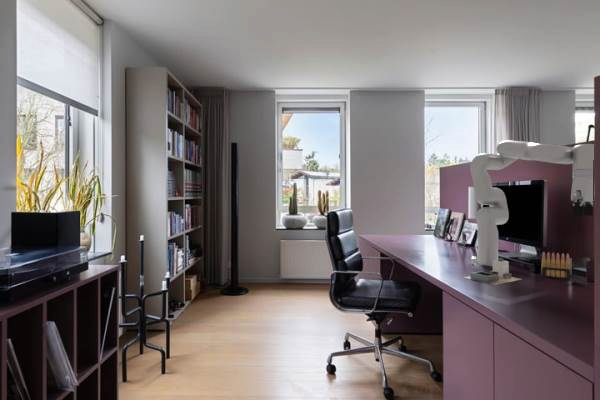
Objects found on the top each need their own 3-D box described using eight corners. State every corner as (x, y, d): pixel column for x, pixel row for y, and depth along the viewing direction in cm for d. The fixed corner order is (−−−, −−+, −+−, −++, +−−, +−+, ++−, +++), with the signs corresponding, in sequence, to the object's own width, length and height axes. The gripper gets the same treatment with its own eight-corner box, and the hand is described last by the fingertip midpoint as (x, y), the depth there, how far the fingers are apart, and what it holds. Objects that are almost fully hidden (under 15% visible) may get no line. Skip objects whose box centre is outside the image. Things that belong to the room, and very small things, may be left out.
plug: (492, 276, 147) (492, 258, 147) (498, 275, 149) (498, 257, 149) (502, 278, 143) (503, 259, 143) (508, 277, 145) (508, 259, 145)
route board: (463, 280, 144) (463, 270, 144) (489, 275, 154) (490, 266, 154) (495, 288, 132) (495, 277, 132) (522, 282, 142) (522, 272, 142)
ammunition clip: (541, 277, 152) (541, 251, 152) (540, 277, 154) (541, 251, 154) (570, 280, 147) (571, 253, 147) (569, 279, 149) (570, 253, 149)
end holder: (470, 278, 142) (470, 272, 142) (481, 276, 145) (481, 271, 145) (488, 282, 135) (488, 276, 135) (498, 280, 139) (498, 274, 139)
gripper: (581, 175, 145) (580, 214, 145) (563, 173, 136) (563, 215, 136) (603, 175, 139) (602, 215, 139) (586, 172, 130) (585, 216, 130)
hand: (583, 215), depth 138 cm, fingers open, 9 cm apart
